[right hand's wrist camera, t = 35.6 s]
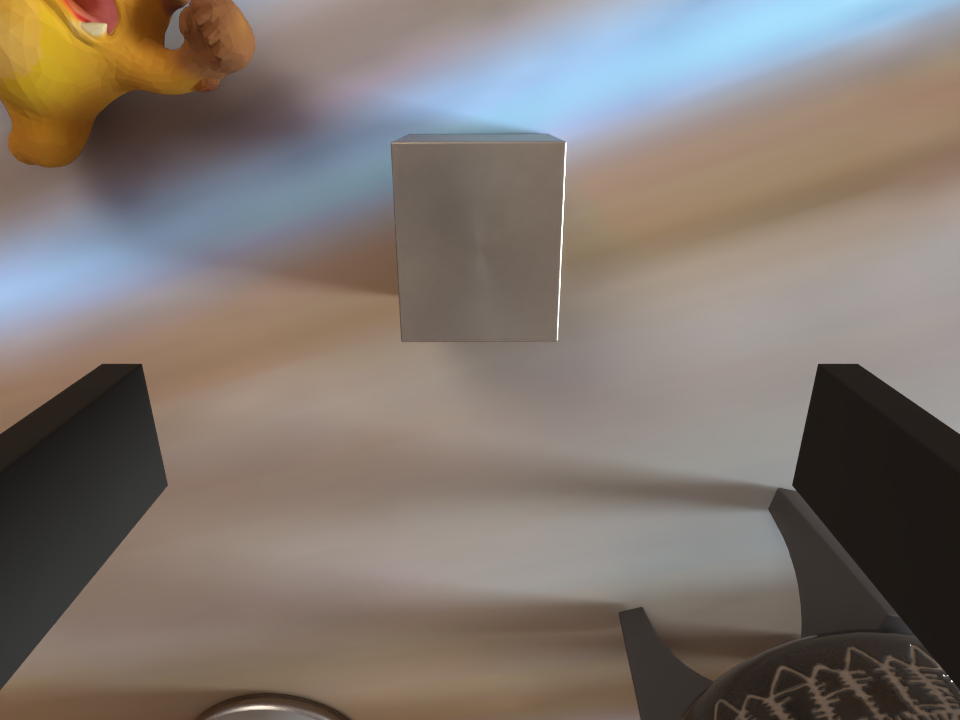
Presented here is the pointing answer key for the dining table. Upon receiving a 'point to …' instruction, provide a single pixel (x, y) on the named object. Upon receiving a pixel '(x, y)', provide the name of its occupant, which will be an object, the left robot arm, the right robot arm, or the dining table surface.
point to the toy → (105, 63)
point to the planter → (804, 650)
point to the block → (479, 236)
